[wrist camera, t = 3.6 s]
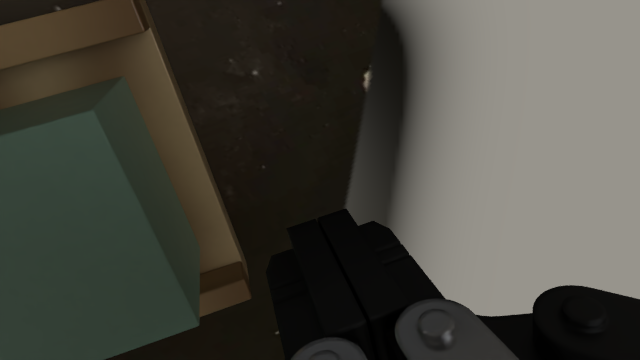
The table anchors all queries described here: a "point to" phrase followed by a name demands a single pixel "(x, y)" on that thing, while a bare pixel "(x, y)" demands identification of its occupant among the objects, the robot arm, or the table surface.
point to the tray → (154, 105)
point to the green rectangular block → (89, 230)
